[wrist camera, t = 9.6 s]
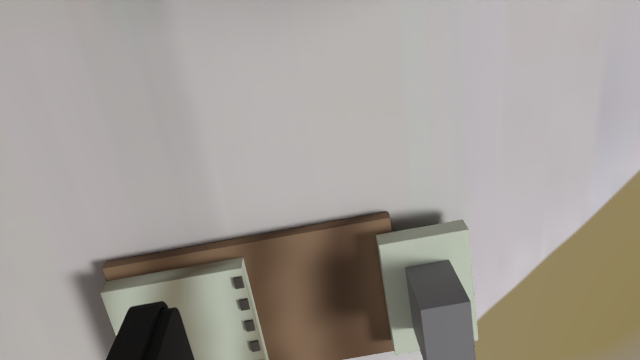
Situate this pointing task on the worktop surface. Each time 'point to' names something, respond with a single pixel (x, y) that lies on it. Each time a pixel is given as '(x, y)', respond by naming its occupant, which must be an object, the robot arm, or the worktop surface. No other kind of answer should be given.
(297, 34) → the worktop surface
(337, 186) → the worktop surface
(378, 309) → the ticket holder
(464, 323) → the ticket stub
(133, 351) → the robot arm
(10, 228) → the worktop surface
